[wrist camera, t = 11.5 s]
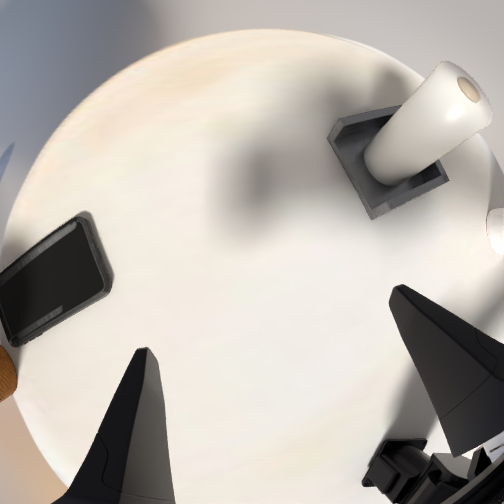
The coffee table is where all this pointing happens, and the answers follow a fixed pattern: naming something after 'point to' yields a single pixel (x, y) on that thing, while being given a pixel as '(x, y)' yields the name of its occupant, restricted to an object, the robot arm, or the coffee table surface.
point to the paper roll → (428, 125)
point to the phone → (52, 282)
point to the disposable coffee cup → (6, 375)
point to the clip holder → (352, 158)
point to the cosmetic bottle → (496, 229)
